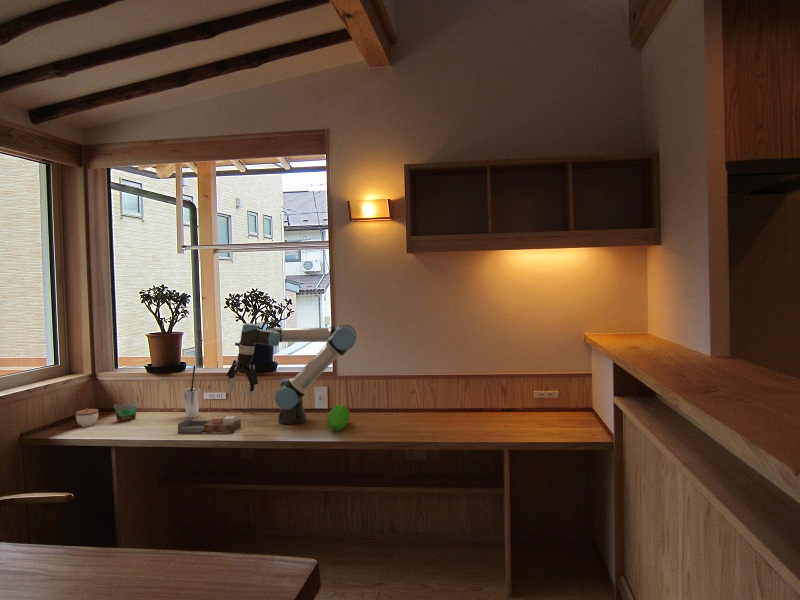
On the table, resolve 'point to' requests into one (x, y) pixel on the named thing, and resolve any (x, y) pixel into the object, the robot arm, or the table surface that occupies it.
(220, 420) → the terracotta tile
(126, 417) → the food container
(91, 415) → the lidded jar
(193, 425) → the tray
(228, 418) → the cream tile
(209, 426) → the walnut board
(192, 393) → the utensil holder
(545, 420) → the table surface
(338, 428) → the green oblong piece
